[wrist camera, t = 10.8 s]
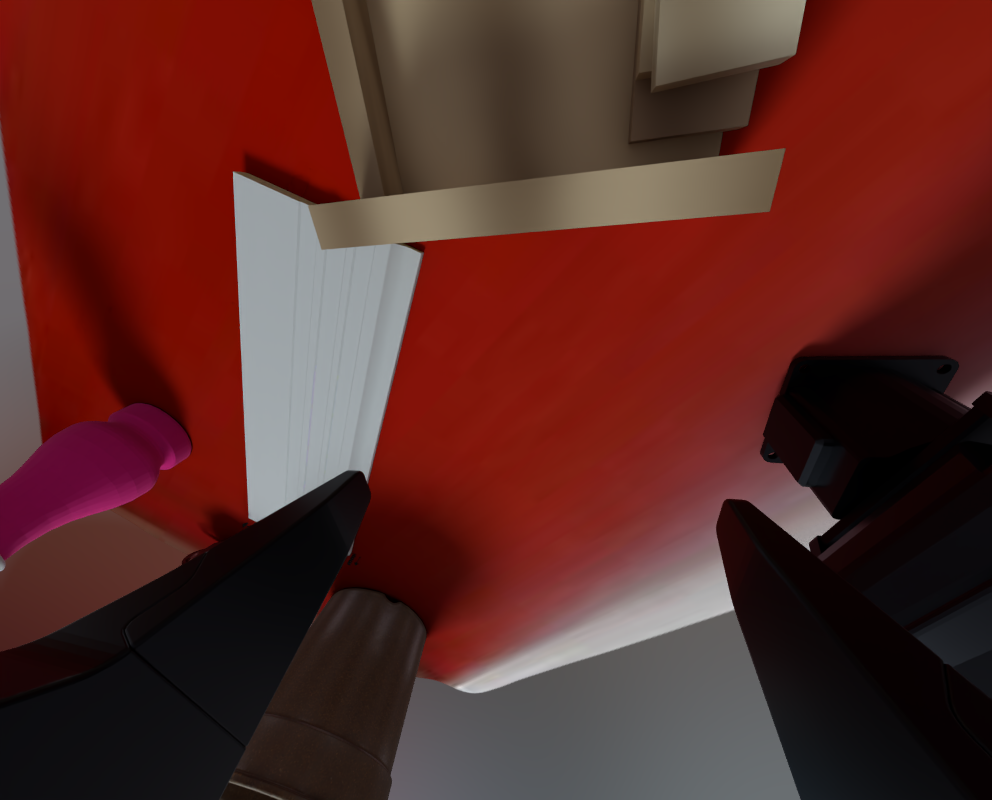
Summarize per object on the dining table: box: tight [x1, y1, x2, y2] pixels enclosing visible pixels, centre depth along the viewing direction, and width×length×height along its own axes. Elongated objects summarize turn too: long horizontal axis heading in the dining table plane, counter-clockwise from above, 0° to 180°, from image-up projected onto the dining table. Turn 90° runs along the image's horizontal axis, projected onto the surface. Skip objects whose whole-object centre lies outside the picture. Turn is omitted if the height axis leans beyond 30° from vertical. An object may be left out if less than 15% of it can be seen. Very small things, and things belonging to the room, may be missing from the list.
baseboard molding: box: [233, 172, 424, 568], centre depth 27 cm, size 31×3×12 cm
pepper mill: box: [0, 403, 192, 571], centre depth 24 cm, size 7×7×20 cm
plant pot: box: [220, 588, 426, 800], centre depth 35 cm, size 16×16×16 cm
